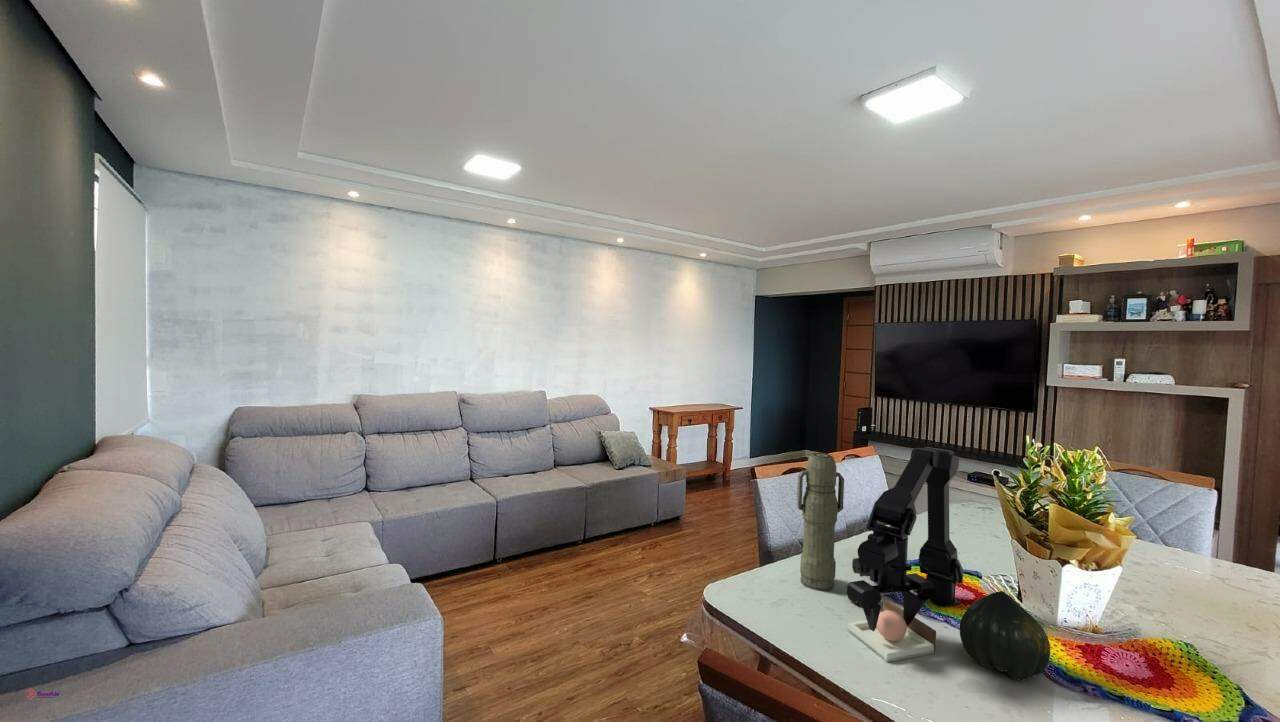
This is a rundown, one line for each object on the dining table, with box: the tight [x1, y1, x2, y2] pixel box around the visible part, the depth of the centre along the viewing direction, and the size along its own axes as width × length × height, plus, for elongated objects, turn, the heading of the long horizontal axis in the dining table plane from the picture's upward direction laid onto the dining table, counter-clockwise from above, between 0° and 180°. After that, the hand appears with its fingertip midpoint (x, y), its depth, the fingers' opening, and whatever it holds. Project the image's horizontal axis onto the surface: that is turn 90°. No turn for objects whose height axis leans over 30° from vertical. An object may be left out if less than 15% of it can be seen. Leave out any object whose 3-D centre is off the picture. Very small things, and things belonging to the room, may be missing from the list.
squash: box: [959, 590, 1051, 681], centre depth 106 cm, size 14×15×15 cm
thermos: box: [796, 452, 845, 592], centre depth 141 cm, size 9×12×35 cm
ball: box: [877, 610, 907, 641], centre depth 114 cm, size 6×6×6 cm
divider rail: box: [882, 599, 937, 651], centre depth 118 cm, size 1×14×4 cm, turn 17°
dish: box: [846, 619, 935, 663], centre depth 114 cm, size 12×12×2 cm
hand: (889, 627), depth 114 cm, fingers open, 9 cm apart
